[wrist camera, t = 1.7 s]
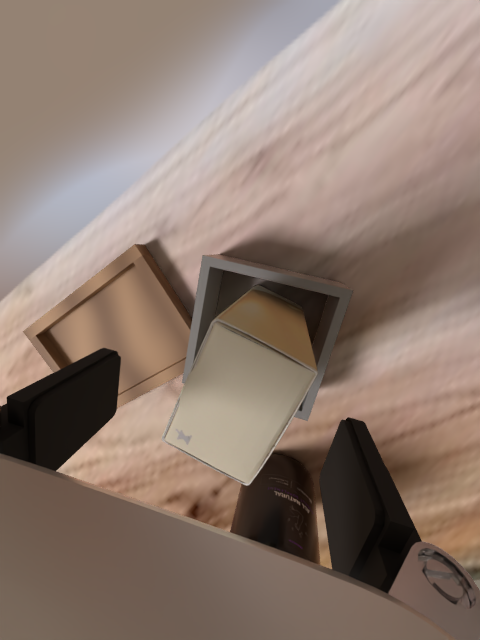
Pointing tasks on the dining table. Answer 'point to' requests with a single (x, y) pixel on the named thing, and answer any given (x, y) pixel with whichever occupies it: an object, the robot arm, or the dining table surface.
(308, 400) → the holder
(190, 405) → the skincare box
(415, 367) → the dining table surface
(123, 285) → the tray
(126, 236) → the dining table surface
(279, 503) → the supplement bottle
